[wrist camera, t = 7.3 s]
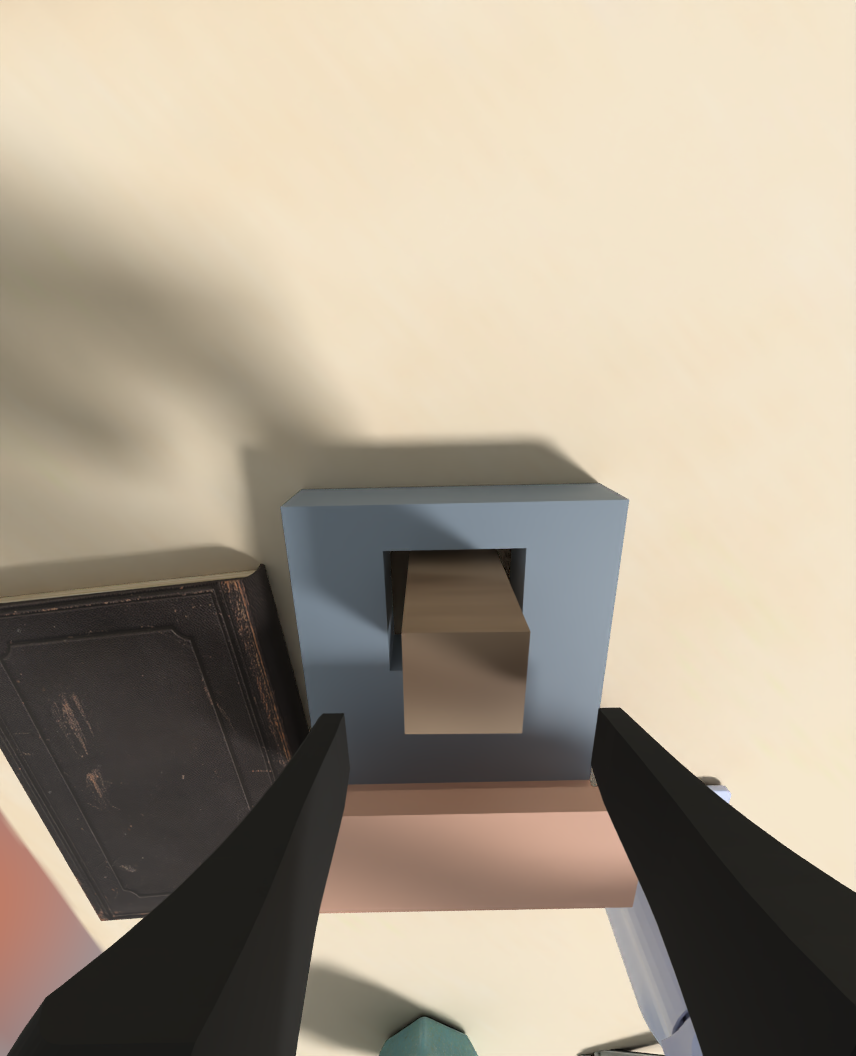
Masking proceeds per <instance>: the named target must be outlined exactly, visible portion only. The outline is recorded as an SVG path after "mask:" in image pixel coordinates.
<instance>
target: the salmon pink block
mask: <svg viewBox="0 0 856 1056" xmlns="http://www.w3.org/2000/svg"><path fill="white" fill-rule="evenodd" d="M637 884H638V879H637V876H636V874H635V872H634V870H633V868H632V865H631V863H630V861H629V859H628V857H627V854H626V852H625V850H624V848H623V845H622V843H621V841H620V839H619V837H618V834H617V832H616V830H615V828H614V825H613V823H612V821H611V819H610V816H609V814H608V812H607V810H606V807H605V805H604V803H603V800H602V797H601V794H600V791H599V788H598V786H596V787H592V785H591V782H590V780H558V781H507V782H456V783H405V784H354V785H348V787H347V794H346V801H345V808H344V812H343V817H342V821H341V825H340V829H339V833H338V837H337V841H336V845H335V850H334V854H333V858H332V862H331V866H330V870H329V874H328V878H327V882H326V886H325V890H324V894H323V898H322V902H321V907H320V911H319V913H360V912H412V911H465V910H518V909H570V908H623V907H633V902H634V898H635V893H636V888H637Z"/></svg>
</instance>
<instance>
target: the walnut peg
mask: <svg viewBox="0 0 856 1056" xmlns="http://www.w3.org/2000/svg"><path fill="white" fill-rule="evenodd" d="M530 633H531V632H530V629H529V627H528V625H527V622H526V620H525V617H524V615H523V613H522V610H521V608H520V606H519V603H518V601H517V599H516V596H515V594H514V592H513V589H512V587H511V584H510V582H509V580H508V577H507V575H506V573H505V570H504V568H503V566H502V563H501V561H500V558H499V556H498V554H497V551H496V549H460V550H412V551H410V555H409V564H408V574H407V584H406V593H405V603H404V613H403V623H402V632H401V635H402V665H403V695H404V726H405V734H501V733H522V728H523V716H524V705H525V693H526V681H527V669H528V657H529V645H530Z"/></svg>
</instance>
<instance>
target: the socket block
mask: <svg viewBox="0 0 856 1056" xmlns="http://www.w3.org/2000/svg"><path fill="white" fill-rule="evenodd" d="M628 504H629V499H627V498H625V497H623V496H622V495H620V494H618V493H616V492H614V491H613V490H611V489H609V488H607V487H605V486H604V485H602V484H600V483H585V484H537V485H490V486H442V487H395V488H347V489H302V490H300V491H299V492H298V493H297V494H296V495H294V496H293V497H292V498H291V499H290V500H288V501H287V502H286V503H285V504H283V505H282V506H281V514H282V521H283V529H284V536H285V543H286V550H287V557H288V564H289V571H290V578H291V585H292V592H293V600H294V607H295V614H296V621H297V628H298V635H299V642H300V649H301V656H302V663H303V671H304V678H305V685H306V692H307V699H308V706H309V713H310V720H311V727H313V726H314V724H315V723H316V721H317V720H318V718H319V717H320V716H321V715H322V714H323V713H344V716H345V725H346V734H347V744H348V753H349V763H350V773H349V780H348V785H354V784H405V783H456V782H507V781H558V780H590V773H591V758H592V751H593V744H594V737H595V730H596V723H597V715H598V708H600V702H601V695H602V688H603V681H604V674H605V667H606V660H607V653H608V646H609V639H610V631H611V624H612V617H613V610H614V603H615V596H616V589H617V582H618V575H619V568H620V561H621V554H622V546H623V539H624V532H625V525H626V518H627V511H628ZM509 548H511V563H510V584H511V587H512V589H513V592H514V594H515V596H516V599H517V601H518V603H519V606H520V608H521V610H522V613H523V615H524V617H525V620H526V622H527V625H528V627H529V629H530V632H531V633H530V645H529V657H528V669H527V681H526V693H525V705H524V716H523V728H522V733H501V734H405V726H404V695H403V665H402V635H401V634H395V633H394V615H393V596H392V578H391V559H390V551H412V550H460V549H509Z"/></svg>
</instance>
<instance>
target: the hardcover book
mask: <svg viewBox="0 0 856 1056" xmlns="http://www.w3.org/2000/svg"><path fill="white" fill-rule="evenodd" d="M308 733H309V731H308V727H307V723H306V719H305V716H304V712H303V708H302V704H301V700H300V697H299V693H298V689H297V685H296V682H295V678H294V674H293V670H292V667H291V663H290V659H289V655H288V652H287V648H286V644H285V640H284V637H283V633H282V629H281V625H280V621H279V618H278V614H277V610H276V606H275V603H274V599H273V595H272V591H271V588H270V584H269V580H268V576H267V573H266V569H265V565H263V564H260V566H259V568H258V569H257V570H249V571H240V572H230V573H221V574H212V575H203V576H194V577H184V578H175V579H166V580H157V581H148V582H138V583H129V584H120V585H111V586H102V587H92V588H83V589H74V590H65V591H56V592H47V593H38V594H28V595H19V596H10V597H1V598H0V749H1V750H2V752H3V754H4V755H5V757H6V759H7V761H8V762H9V764H10V766H11V767H12V769H13V771H14V773H15V774H16V776H17V778H18V779H19V781H20V783H21V785H22V786H23V788H24V790H25V791H26V793H27V795H28V797H29V798H30V800H31V802H32V803H33V805H34V807H35V809H36V810H37V812H38V814H39V815H40V817H41V819H42V821H43V822H44V824H45V826H46V827H47V829H48V831H49V833H50V834H51V836H52V838H53V839H54V841H55V843H56V845H57V846H58V848H59V850H60V851H61V853H62V855H63V857H64V858H65V860H66V862H67V863H68V865H69V867H70V869H71V870H72V872H73V874H74V875H75V877H76V879H77V881H78V882H79V884H80V886H81V887H82V889H83V891H84V893H85V894H86V896H87V898H88V899H89V901H90V903H91V905H92V906H93V908H94V910H95V911H96V913H97V915H98V917H99V918H100V920H101V921H108V920H120V919H133V918H144V917H145V916H146V915H148V914H149V913H150V912H151V911H152V910H153V909H154V908H155V907H157V906H158V905H159V904H160V903H161V902H162V901H163V900H164V899H166V898H167V897H168V896H169V895H170V894H171V893H172V892H173V891H174V890H175V889H176V888H177V887H178V886H180V885H181V884H182V883H183V882H184V881H185V880H186V879H187V878H188V877H189V876H190V875H191V874H192V873H193V872H194V871H195V870H196V869H197V868H198V867H199V866H200V865H201V864H202V863H203V862H204V861H205V860H206V859H207V858H208V857H209V856H210V855H211V854H212V853H213V852H214V851H215V850H216V849H217V848H218V846H219V845H220V844H221V843H222V842H223V841H224V840H225V839H226V838H227V837H228V836H229V835H230V834H231V832H232V831H233V830H234V829H235V828H236V827H237V826H238V825H239V823H240V822H241V821H242V820H243V819H244V818H245V817H246V815H247V814H248V813H249V812H250V811H251V809H252V808H253V807H254V806H255V805H256V803H257V802H258V801H259V800H260V798H261V797H262V796H263V795H264V793H265V792H266V791H267V790H268V789H269V787H270V786H271V785H272V784H273V782H274V781H275V780H276V778H277V777H278V776H279V774H280V773H281V772H282V770H283V769H284V768H285V766H286V765H287V763H288V762H289V761H290V759H291V758H292V757H293V755H294V754H295V752H296V751H297V750H298V748H299V747H300V745H301V744H302V742H303V741H304V739H305V738H306V736H307V735H308Z"/></svg>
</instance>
